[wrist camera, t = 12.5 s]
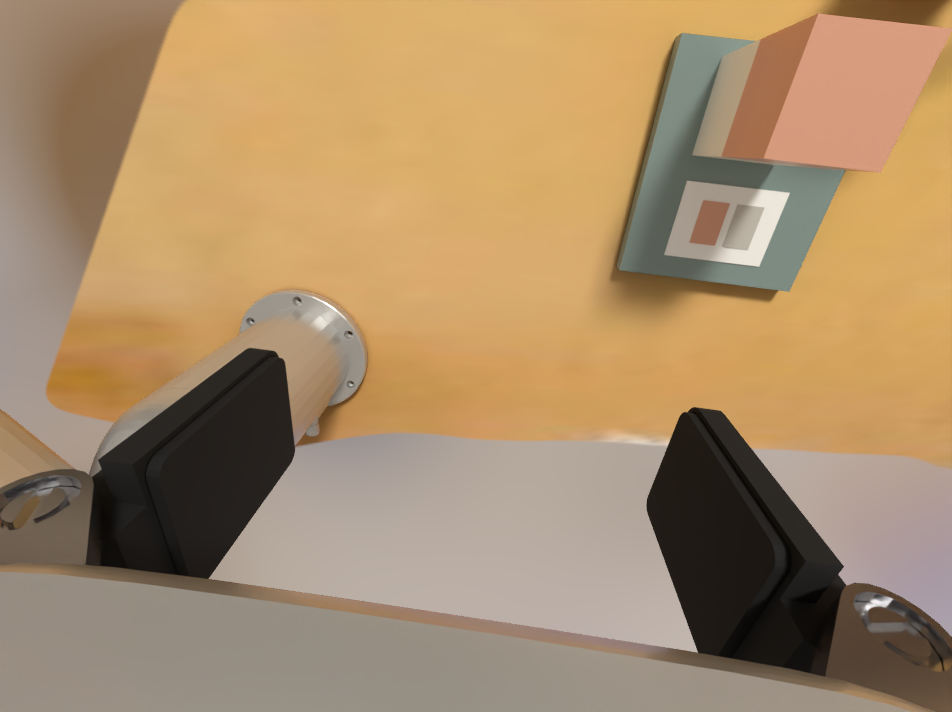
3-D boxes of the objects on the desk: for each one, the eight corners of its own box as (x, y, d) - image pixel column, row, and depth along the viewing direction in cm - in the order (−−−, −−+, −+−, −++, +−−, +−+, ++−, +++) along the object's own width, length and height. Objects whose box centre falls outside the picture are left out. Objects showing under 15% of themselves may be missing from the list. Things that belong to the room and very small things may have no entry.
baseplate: (780, 287, 35) (839, 318, 29) (616, 266, 36) (638, 292, 29) (883, 60, 28) (991, 34, 22) (675, 37, 29) (722, 5, 22)
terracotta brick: (818, 168, 26) (880, 172, 22) (721, 156, 26) (763, 158, 22) (869, 51, 23) (953, 28, 19) (760, 39, 24) (818, 13, 19)
